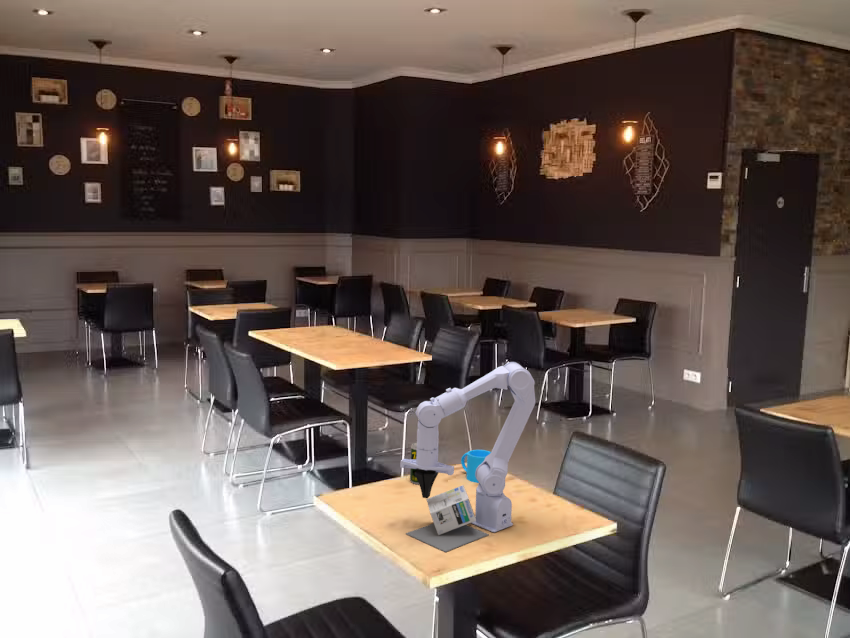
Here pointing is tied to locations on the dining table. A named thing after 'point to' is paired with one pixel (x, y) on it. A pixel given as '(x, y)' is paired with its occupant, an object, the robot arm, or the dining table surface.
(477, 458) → the mug
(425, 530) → the charcoal rubber mat
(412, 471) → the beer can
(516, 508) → the dining table surface
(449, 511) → the light bulb box
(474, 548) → the dining table surface
